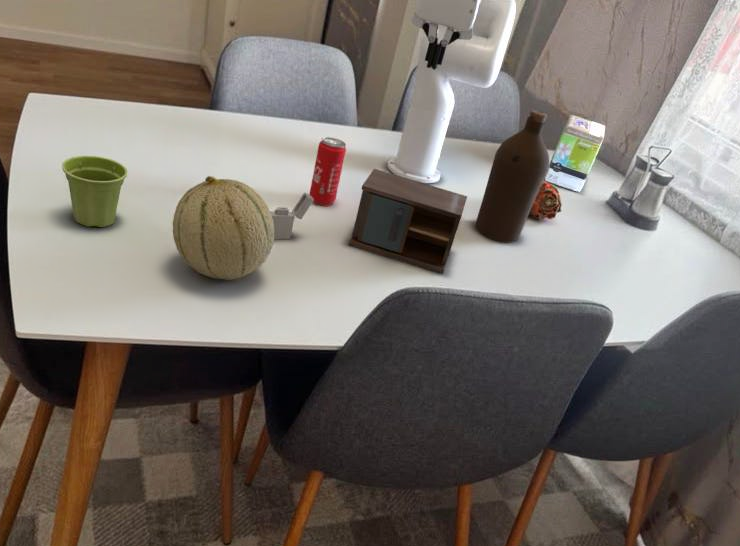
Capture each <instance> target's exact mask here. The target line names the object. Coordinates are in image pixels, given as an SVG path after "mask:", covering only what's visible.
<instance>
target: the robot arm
mask: <svg viewBox="0 0 740 546" xmlns="http://www.w3.org/2000/svg"><path fill="white" fill-rule="evenodd" d="M516 14H517V3H516V0H417V2H416V8H415V13H414V14H413V16H412V19H411V23H412V24H413V25H415V26H417V27H418V28H420V29H422V30H423V32H424V33H423V36H422V38H421V41H420V47H419V54H418V60H417V61H418V62H417V70H416V76H415V81H414V85H413V90H412V94H411V98H410V101H409V106H408V109H407V114H406V117H405V122H404V126H403V130H402V133H401V138H400V142H399V145H398V149H397V153H396V157H392V158H389V160H388V161H387V165H386V166H387V168H388V170H389V171H390V173H392V174H395V175H398V176H401V177H405V178H408V179H411V180H415V181H418V182H421V183H425V184H434V183H438V182H439V181H440V179H441V176H442V174H441V171H440V170H439V169H437V166H438V162H439V159H440V158H441V152H442V149H443V145H444V141H445V138H446V136H447V135H446V134H447V131H448V127H449V125H450V122H451V121H450V120H451V118H452V114H453V112H454V107H455V94H454V91H453V89H452V86H451V84H450V81H453V82H455V81H456V82H459V83H462V84H465V85H468V86H472V87H477V88H481V89H487V88H489V87H491V86H492V85H493V84H495V82H496V80H497V79H498V76H499V73H500V70H501V67H502V63H503V60H504V57H505V53H506V50H507V47H508V43H509V40H510V37H511V33H512V29H513V27H514V22H515V19H516Z"/></svg>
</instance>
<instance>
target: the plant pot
mask: <svg viewBox="0 0 740 546" xmlns="http://www.w3.org/2000/svg"><path fill="white" fill-rule="evenodd" d="M61 170H62V171H63V173H64V174H65V178H66V180H67V182H68V188H69V195H70V202H71V208H72V215H73V219H74V220H75V221H76V223H79V224H80V225H82V226H85V227H97V228H105V227H109V226H111V225H113V224H114V223H115V220H116V215H117V210H118V204H119V199H120V194H121V190H122V186H123V184H124V181H125V179H126V178H127V176H128V172H129V171H128V169H127V167H126V166H125V165H123V164H122V163H120V162H119V161H117V160H114V159H112V158H108V157H103V156H95V155H78V156H72V157H69V158H66V159H65V160H64V161H63V162H62V164H61Z"/></svg>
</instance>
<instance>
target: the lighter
mask: <svg viewBox="0 0 740 546" xmlns="http://www.w3.org/2000/svg"><path fill="white" fill-rule="evenodd" d="M313 201H314V199H313V198H312V196H310V193H309V194H308V193H307V192H304V193H303V194H302V196H301V197H300V199H299V200H298V202H297V203H296V204H295V206H294V207H293V209H292V210H291V211H290V209H289V208H288V207H286V206H283V207H279V206H278V207H277V208H275V210H274V211H273V210H272V211H271V210H269V211H270V213H271V216H272V218H273V222H274V227H275V232H274V240H290V239H291V238H292V234H293V228H294V227H293V226H294V222H295V217H296V218H297V219H299V220H302V219H303V217H304V216H305V214H306V213H307V212H308V210H309V209H310V207H311V205H312V204H313Z"/></svg>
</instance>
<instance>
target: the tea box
mask: <svg viewBox="0 0 740 546" xmlns="http://www.w3.org/2000/svg"><path fill="white" fill-rule="evenodd" d="M605 131H606V125H604V124H601V123H598V122H595V121H592V120H589V119H586V118H583V117H581V116H577V115H573V114H569V116H568V118H567V120H566V123H565V125H564V127H563V129H562V132H561V134H560V137H559V140H558V142H557V145H556V147H555V149H554V152H553V154H552V157H551V160H550V161H549V167H548V171H547V173H546V176H545V178H544V181H546V182H549V183H550V184H552V185H555V186H559V187H561V188H565V189H568V190H571V191H574V192H578V193H580V192H581V191H582V189H583V187H584V184H585V182H586V180H587V178H588V175H589V174H590V171H591V169H592V167H593V164H594V162H595V160H596V157H597V155H598V153H599V150H600V148H601V145H602V143H603V142H604V138H605Z"/></svg>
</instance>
